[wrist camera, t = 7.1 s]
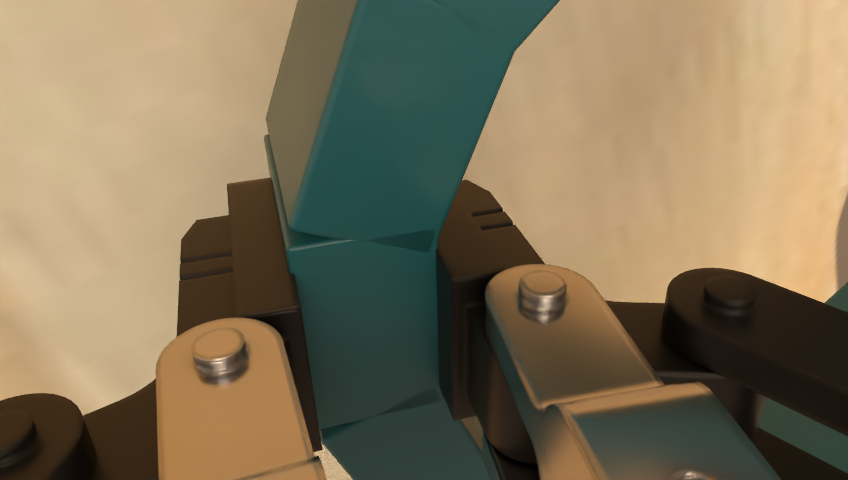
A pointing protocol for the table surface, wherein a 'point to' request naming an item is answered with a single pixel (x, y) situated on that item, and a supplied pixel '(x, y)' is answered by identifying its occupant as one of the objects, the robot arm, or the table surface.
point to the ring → (399, 218)
